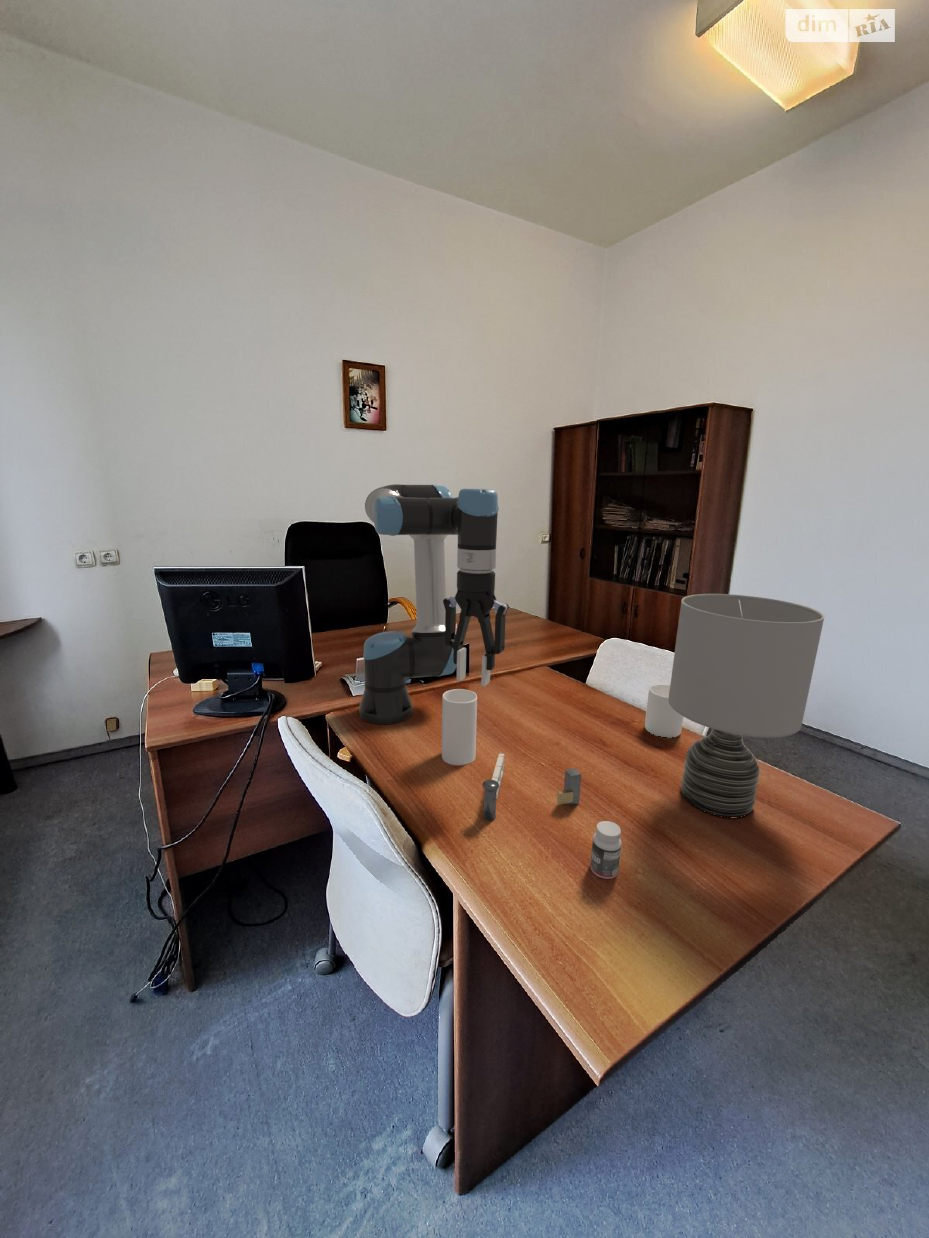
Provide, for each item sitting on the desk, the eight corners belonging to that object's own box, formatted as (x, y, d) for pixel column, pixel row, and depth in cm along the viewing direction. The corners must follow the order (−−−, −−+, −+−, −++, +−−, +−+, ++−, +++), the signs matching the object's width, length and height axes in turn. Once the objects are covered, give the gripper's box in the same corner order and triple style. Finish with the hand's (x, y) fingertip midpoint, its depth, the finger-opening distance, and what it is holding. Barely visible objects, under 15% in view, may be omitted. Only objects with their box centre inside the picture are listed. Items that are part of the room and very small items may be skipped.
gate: (494, 810, 102) (495, 788, 101) (488, 809, 102) (489, 787, 101) (503, 773, 115) (504, 754, 114) (498, 772, 115) (499, 753, 114)
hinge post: (479, 813, 101) (480, 781, 99) (494, 810, 102) (495, 778, 100) (484, 823, 98) (486, 790, 96) (500, 820, 99) (501, 787, 97)
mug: (658, 740, 132) (664, 699, 129) (631, 721, 143) (636, 682, 141) (688, 736, 135) (694, 696, 132) (659, 717, 146) (664, 679, 143)
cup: (472, 767, 118) (473, 704, 114) (438, 763, 119) (438, 700, 115) (478, 750, 126) (479, 690, 122) (446, 746, 127) (446, 687, 123)
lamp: (731, 851, 92) (772, 629, 81) (633, 784, 113) (655, 599, 102) (807, 815, 103) (852, 614, 92) (705, 759, 123) (732, 590, 113)
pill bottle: (586, 860, 89) (590, 819, 87) (612, 859, 89) (616, 818, 87) (595, 880, 85) (599, 837, 82) (622, 879, 85) (627, 836, 83)
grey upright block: (552, 801, 106) (554, 771, 104) (573, 797, 107) (575, 768, 105) (559, 810, 103) (561, 779, 101) (580, 805, 104) (583, 775, 103)
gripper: (426, 568, 99) (426, 679, 105) (512, 577, 91) (507, 696, 97) (444, 563, 105) (443, 668, 111) (526, 571, 98) (520, 683, 104)
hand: (473, 681), depth 104 cm, fingers open, 5 cm apart
